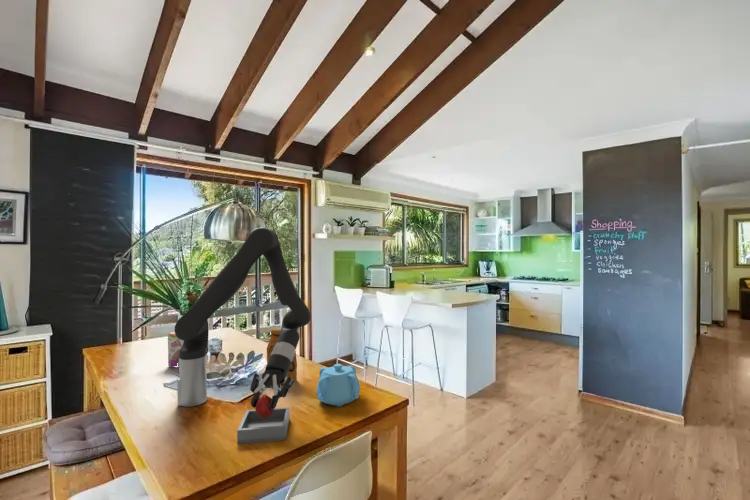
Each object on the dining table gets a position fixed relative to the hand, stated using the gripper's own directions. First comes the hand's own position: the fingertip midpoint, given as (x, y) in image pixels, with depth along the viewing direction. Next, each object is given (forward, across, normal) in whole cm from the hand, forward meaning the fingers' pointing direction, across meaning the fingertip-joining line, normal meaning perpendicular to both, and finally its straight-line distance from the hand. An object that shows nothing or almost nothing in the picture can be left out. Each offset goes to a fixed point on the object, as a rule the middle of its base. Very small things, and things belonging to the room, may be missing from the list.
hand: (261, 407), depth 119 cm
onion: (+2, 0, +4) cm, 5 cm away
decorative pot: (-15, +14, +27) cm, 34 cm away
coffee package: (-24, -17, +36) cm, 46 cm away
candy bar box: (-27, -75, +39) cm, 89 cm away
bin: (+5, 0, +7) cm, 8 cm away
